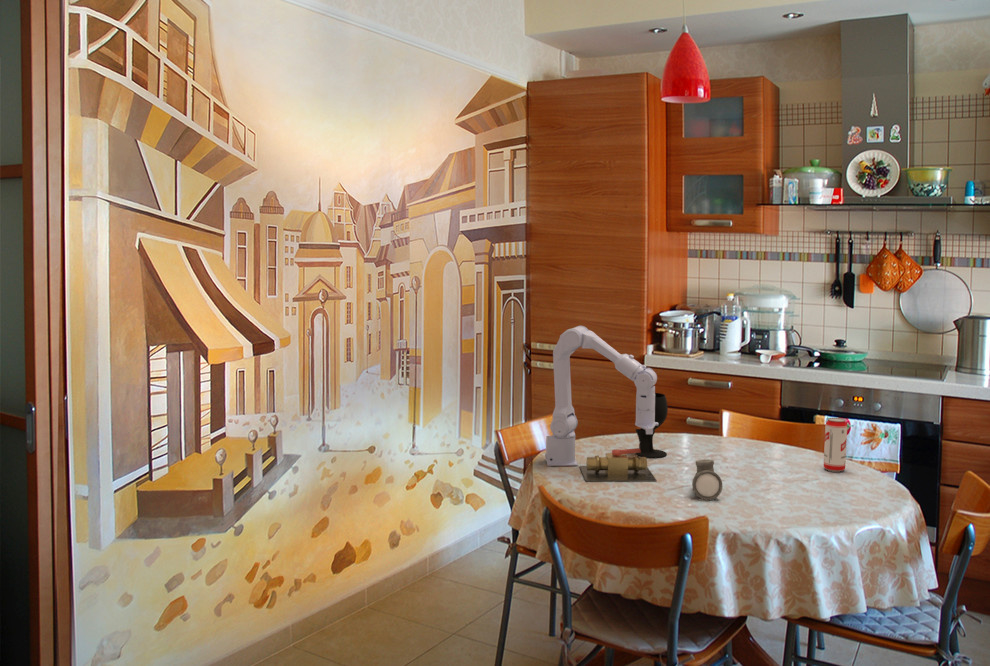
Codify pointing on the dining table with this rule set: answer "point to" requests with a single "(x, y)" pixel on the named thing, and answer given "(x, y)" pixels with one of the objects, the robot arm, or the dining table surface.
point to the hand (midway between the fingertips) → (644, 452)
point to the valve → (617, 469)
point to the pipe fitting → (706, 480)
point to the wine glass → (660, 417)
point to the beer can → (835, 444)
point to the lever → (625, 451)
